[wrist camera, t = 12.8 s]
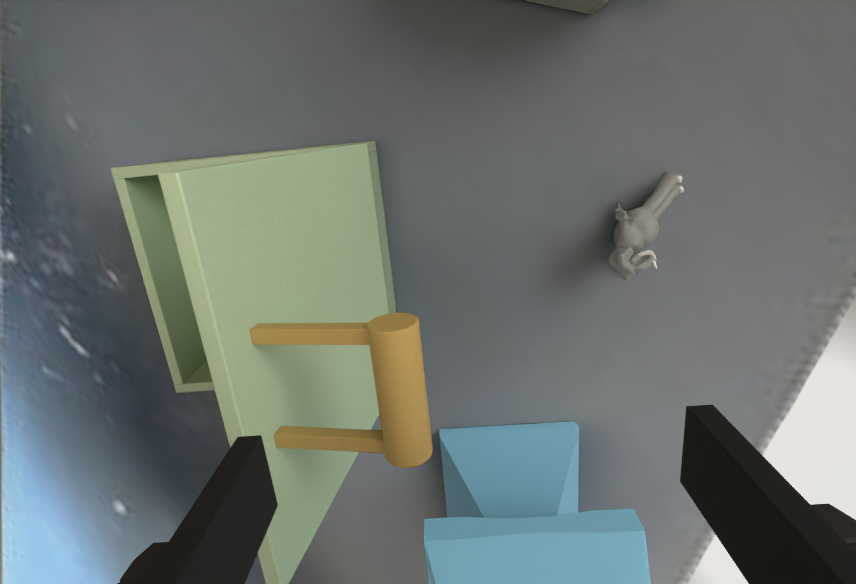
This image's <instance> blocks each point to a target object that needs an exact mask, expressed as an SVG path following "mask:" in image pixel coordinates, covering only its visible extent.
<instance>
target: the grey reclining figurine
mask: <svg viewBox="0 0 856 584" xmlns="http://www.w3.org/2000/svg"><path fill="white" fill-rule="evenodd" d="M682 179H683V178H682V177H681V176H680V175H678V174H675V173H670V172H666V173H665V174H664V175H663V176H662V178H661V180H660V181H659V183H658V185H657V187H656V189H655V190H654V192H653V194H652V195H651V196H650V197H649V198H648V199H647V200H646V201H645V203H644V204H643V206H642V207H639V208H636V209H633V210H630V211H627V212H626V211H625V210H623V209H622V208H621V207H620V205H619V203H618V201H617V204H618V208H616V209H615V211H616V219H617V220H619V222H618V224H617V226H616V228H615V231H614V239H615V243H616V249H615V250H614V251H613V252H612V253H611V255H610V256H609V258H608V261H609V264H610V266H611V267H612V268H613V269H615V270H616V271H618V272H620V273H621V276H622V278H623V279H624V280H628V279H629V276H630V274H631V275H632V273H638V272H641V271H645V270H646V269H648V268H649V267H650V266H651V264H653V265H654V266H655V268H656V269H657V266H656V262H655V261H657V260H656V256H655V253H654V252H652V251H650V250H644V251H642V252H641V253H639V254H636V253H638V252H639V251H640V250H641V249H642V247H644V246H646V245H648V244H650V243H651V242H652V241H653V240H654V239H655V237H656V236H657V234H658V231H659V224H658V221H657V220H658V218H659V217H660V216H661V215H662V213H663V212H664V211H665V210H666V209H667V208H668V206H669V204H670V203H671V202H672V201H673V200H674V198H675V197H676V196H677V195H678V194H679V193H682V192H683V191H684V189H683V187H681V186H679V185H677V183H680V182H682Z"/></svg>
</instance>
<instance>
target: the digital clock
mask: <svg viewBox="0 0 856 584" xmlns="http://www.w3.org/2000/svg"><path fill="white" fill-rule="evenodd" d="M524 1H529V2H533V3H538V4H543V5H547V6H552V7H557V8H562V9H566V10H571V11H576V12H581V13H585V14H590V15H592V14H594V13H595V12H596V11H598V10H599V9H601V8H602V7H603V6H605V5H606V4H607V3H608V2H609V0H524Z"/></svg>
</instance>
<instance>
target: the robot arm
mask: <svg viewBox="0 0 856 584" xmlns="http://www.w3.org/2000/svg"><path fill="white" fill-rule="evenodd" d="M680 482H681V483H682V485H683V486H684V488H685V489H686V491H687V492H688V494H689V495H690V497H691V498H692V500H693V501H694V503H695V504H696V506H697V507H698V509H699V510H700V512H701V513H702V515H703V516H704V518H705V519H706V521H707V522H708V524H709V525H710V527H711V528H712V529H713V531H714V532H715V534H716V535H717V537H718V538H719V540H720V541H721V543H722V544H723V546H724V547H725V549H726V550H727V552H728V553H729V555H730V556H731V558H732V559H733V561H734V562H735V564H736V565H737V566H738V568H739V570H740V571H741V572H742V574H743V576H744V577H745V579H746V580H747V581H748V583H749V584H856V520H855V519H853V518H851V517H850V516H848V515H846V514H845V513H843V512H842V511H840V510H838V509H837V508H835V507H833V506H831V505H830V504H816V505H810V504H809V503H808V502H807V501H806V500H805V499H804V498H803V497H802V496H801V495H800V494H799V493H798V492H797V491H796V490H795V489H794V488H793V487H792V486H791V485H790V484H789V483H788V482H787V481H786V480H785V479H784V477H783V476H782V475H780V473H779V472H778V471H777V470H776V469H775V468H774V467H773V466H772V465H771V464H770V463H769V462H768V461H767V460H766V459H765V458H764V457H763V456H762V455H761V454H760V453H759V452H758V451H757V450H756V449H755V448H754V447H753V446H752V445H751V444H750V443H749V442H748V441H747V440H746V438H745V437H744V436H743V435H742V434H741V433H740V432H739V431H738V430H737V429H736V428H735V427H734V426H733V425H732V424H731V423H730V422H729V421H728V420H727V419H726V418H725V417H724V416H723V415H722V414H721V413H720V412H719V411H718V410H717V409H716V408H715V407H714V406H713V405H700V406H686V418H685V430H684V442H683V454H682V466H681V478H680ZM277 507H278V503H277V499H276V495H275V490H274V486H273V482H272V478H271V474H270V469H269V465H268V461H267V457H266V453H265V448H264V444H263V440H262V436H261V435H256V436H241V437H237V439H236V440H235V442H234V443H233V445H232V446H231V448H230V449H229V451H228V452H227V454H226V455H225V457H224V458H223V460H222V462H221V463H220V465H219V466H218V468H217V469H216V471H215V472H214V474H213V475H212V477H211V478H210V480H209V481H208V483H207V484H206V486H205V488H204V489H203V491H202V492H201V494H200V495H199V497H198V498H197V500H196V501H195V503H194V504H193V506H192V507H191V509H190V510H189V512H188V514H187V515H186V517H185V518H184V520H183V521H182V523H181V524H180V526H179V527H178V529H177V530H176V532H175V533H174V535H173V536H172V538H171V539H170V541H169V542H162V543H153V544H152V545H150V546H149V547H148V548H147V549H146V550H145V551H144V552H143V553H141V554H140V555H139V556H138V557H137V558H136V559H135V560H134V561H133V562H132V563H131V565H130V566H129V568H128V569H127V570H126V572H125V573H124V575H123V576H122V578H121V579H120V583H117V584H245V581H246V579H247V577H248V574H249V572H250V570H251V567H252V565H253V563H254V560H255V558H256V556H257V553H258V551H259V549H260V546H261V544H262V542H263V539H264V537H265V535H266V532H267V530H268V528H269V525H270V523H271V521H272V518H273V516H274V514H275V511H276V509H277Z"/></svg>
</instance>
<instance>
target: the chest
mask: <svg viewBox="0 0 856 584" xmlns="http://www.w3.org/2000/svg"><path fill="white" fill-rule="evenodd" d="M360 143H367V149H368V157H369V164H370V172H371V180H372V188H373V195H374V203H375V211H376V219H377V226H378V234H379V242H380V250H381V257H382V265H383V273H384V281H385V288H386V296H387V304H388V311H389V314H390V313H397V312H396V304H395V296H394V288H393V280H392V271H391V263H390V255H389V247H388V239H387V231H386V223H385V215H384V207H383V199H382V191H381V183H380V174H379V166H378V158H377V150H376V142H375V141H365V142H355V143H345V144H335V145H325V146H315V147H305V148H295V149H285V150H275V151H264V152H254V153H244V154H234V155H224V156H214V157H204V158H194V159H184V160H174V161H164V162H156V163H148V164H140V165H132V166H124V167H116V168H111V172H112V175H113V179H114V182H115V185H116V189H117V192H118V195H119V199H120V202H121V206H122V209H123V212H124V216H125V219H126V223H127V226H128V229H129V233H130V236H131V240H132V243H133V247H134V250H135V253H136V257H137V260H138V264H139V267H140V270H141V274H142V277H143V281H144V284H145V287H146V291H147V294H148V298H149V301H150V304H151V308H152V311H153V315H154V318H155V322H156V325H157V328H158V332H159V335H160V339H161V342H162V345H163V349H164V352H165V356H166V359H167V362H168V366H169V369H170V373H171V376H172V380H173V383H174V387H175V390H176V393H180V392H194V391H208V390H215V389H214V385H213V381H212V377H211V374H210V370H209V366H208V362H207V358H206V355H205V351H204V347H203V343H202V340H201V336H200V332H199V328H198V324H197V321H196V317H195V313H194V309H193V306H192V302H191V298H190V294H189V290H188V287H187V283H186V279H185V275H184V271H183V268H182V264H181V260H180V256H179V253H178V249H177V245H176V241H175V237H174V234H173V230H172V226H171V222H170V219H169V215H168V211H167V207H166V203H165V200H164V196H163V192H162V188H161V184H160V181H159V177H158V174H160V173H164V172H171V171H178V170H184V169H191V168H198V167H204V166H211V165H218V164H225V163H231V162H238V161H245V160H251V159H258V158H265V157H272V156H278V155H285V154H292V153H298V152H305V151H312V150H319V149H325V148H332V147H339V146H345V145H352V144H360Z"/></svg>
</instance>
